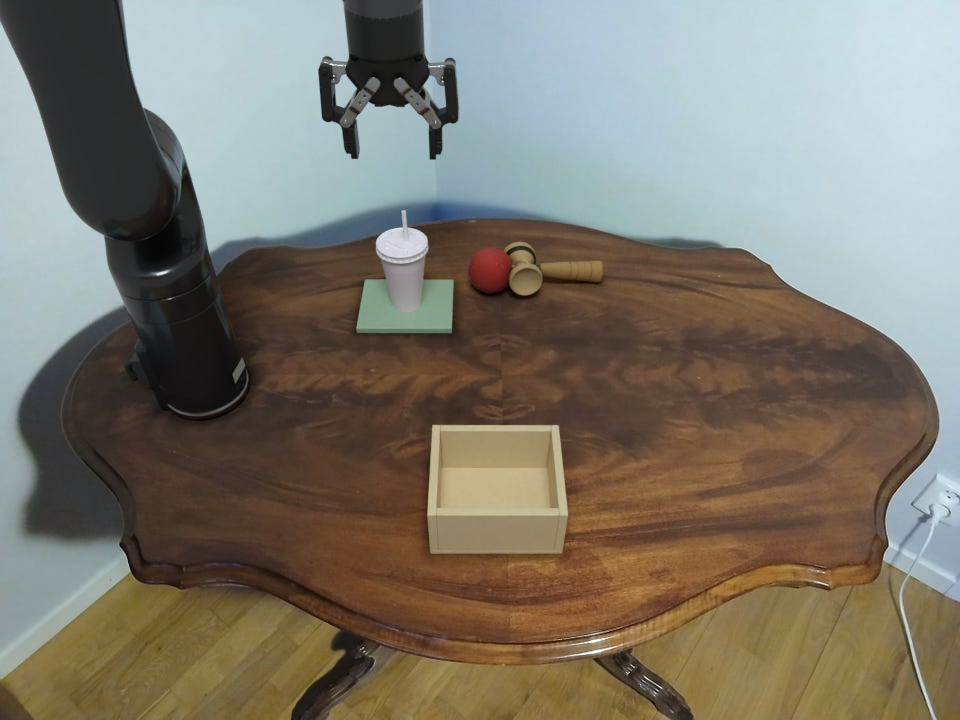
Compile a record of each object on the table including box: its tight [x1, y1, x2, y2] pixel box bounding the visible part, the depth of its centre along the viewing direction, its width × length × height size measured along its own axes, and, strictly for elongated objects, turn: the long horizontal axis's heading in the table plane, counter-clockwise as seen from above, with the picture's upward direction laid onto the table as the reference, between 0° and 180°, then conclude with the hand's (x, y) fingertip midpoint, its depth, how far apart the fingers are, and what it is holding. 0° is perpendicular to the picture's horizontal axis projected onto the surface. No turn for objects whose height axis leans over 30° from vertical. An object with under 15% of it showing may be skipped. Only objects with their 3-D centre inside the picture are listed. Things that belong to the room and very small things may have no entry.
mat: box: [356, 278, 455, 334], centre depth 95 cm, size 12×10×1 cm
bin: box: [426, 424, 569, 555], centre depth 71 cm, size 13×11×6 cm
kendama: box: [467, 241, 604, 297], centre depth 97 cm, size 8×6×18 cm
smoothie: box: [375, 209, 429, 312], centre depth 90 cm, size 6×6×14 cm
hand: (394, 156), depth 80 cm, fingers open, 8 cm apart
